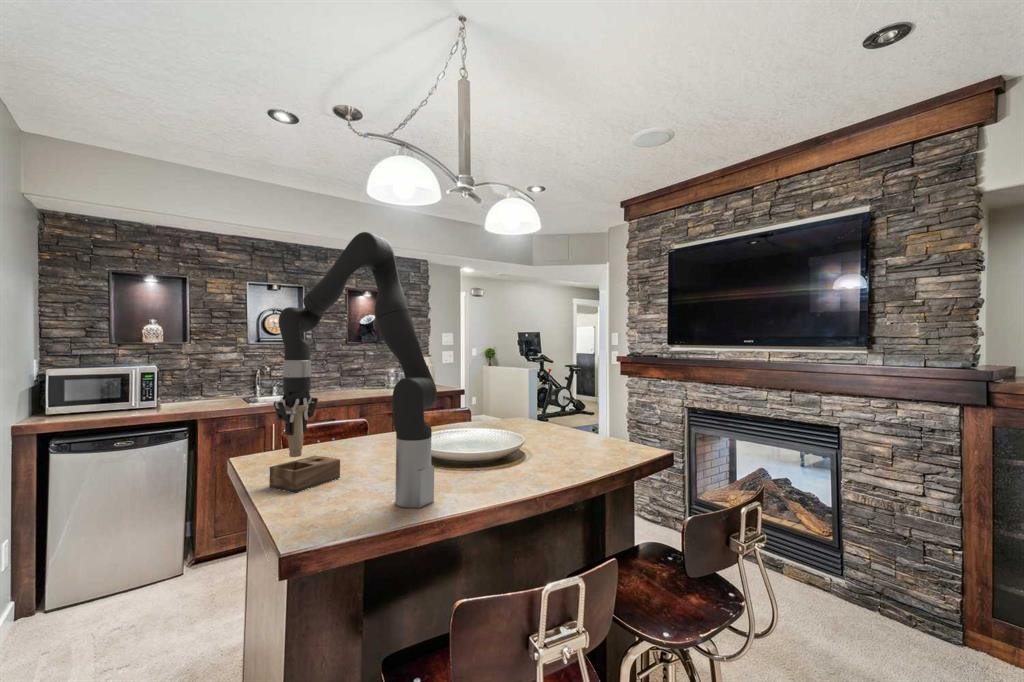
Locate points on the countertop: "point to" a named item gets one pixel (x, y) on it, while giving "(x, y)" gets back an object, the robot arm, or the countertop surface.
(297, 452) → the handle
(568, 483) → the countertop surface
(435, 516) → the countertop surface
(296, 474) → the socket block
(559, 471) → the countertop surface
